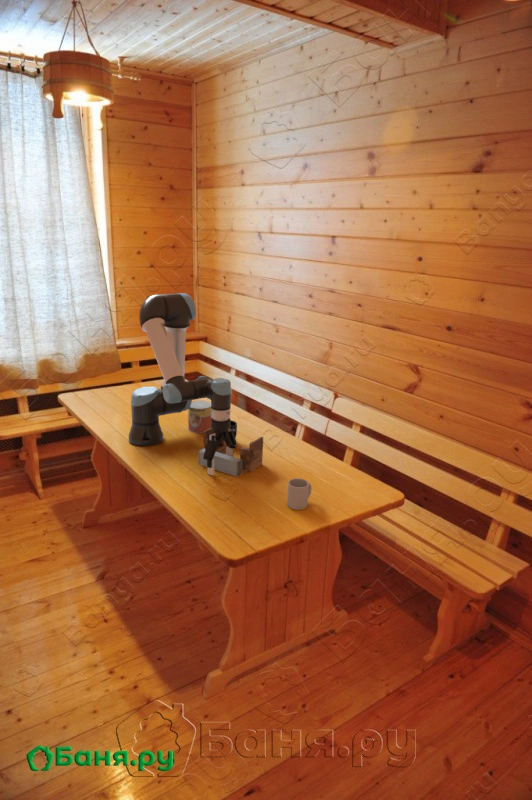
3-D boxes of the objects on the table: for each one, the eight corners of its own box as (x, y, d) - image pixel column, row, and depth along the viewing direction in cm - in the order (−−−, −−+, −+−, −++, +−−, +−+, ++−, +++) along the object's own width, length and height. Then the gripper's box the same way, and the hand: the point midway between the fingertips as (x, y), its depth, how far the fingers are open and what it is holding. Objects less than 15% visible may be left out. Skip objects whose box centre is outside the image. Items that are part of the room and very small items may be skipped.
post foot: (239, 468, 230) (240, 441, 226) (251, 461, 237) (252, 434, 233) (250, 472, 227) (251, 444, 223) (262, 464, 235) (263, 437, 231)
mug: (225, 451, 246) (225, 430, 242) (215, 441, 256) (215, 421, 253) (243, 448, 249) (243, 428, 246) (232, 438, 259) (232, 419, 256)
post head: (204, 457, 238) (204, 431, 234) (216, 450, 246) (216, 424, 242) (213, 460, 236) (213, 434, 232) (226, 453, 243) (226, 427, 239)
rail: (198, 464, 232) (198, 450, 230) (203, 461, 235) (203, 448, 233) (237, 476, 223) (237, 462, 221) (242, 473, 226) (242, 459, 224)
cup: (282, 504, 204) (284, 482, 201) (302, 496, 210) (304, 474, 207) (296, 512, 198) (298, 489, 196) (317, 504, 205) (318, 481, 202)
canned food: (183, 430, 266) (183, 406, 263) (195, 422, 276) (195, 399, 273) (205, 434, 263) (205, 410, 259) (216, 426, 273) (216, 402, 269)
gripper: (209, 429, 210) (209, 482, 217) (246, 411, 230) (244, 460, 237) (193, 425, 214) (194, 477, 221) (230, 407, 234) (229, 455, 241)
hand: (220, 468), depth 229 cm, fingers open, 12 cm apart
